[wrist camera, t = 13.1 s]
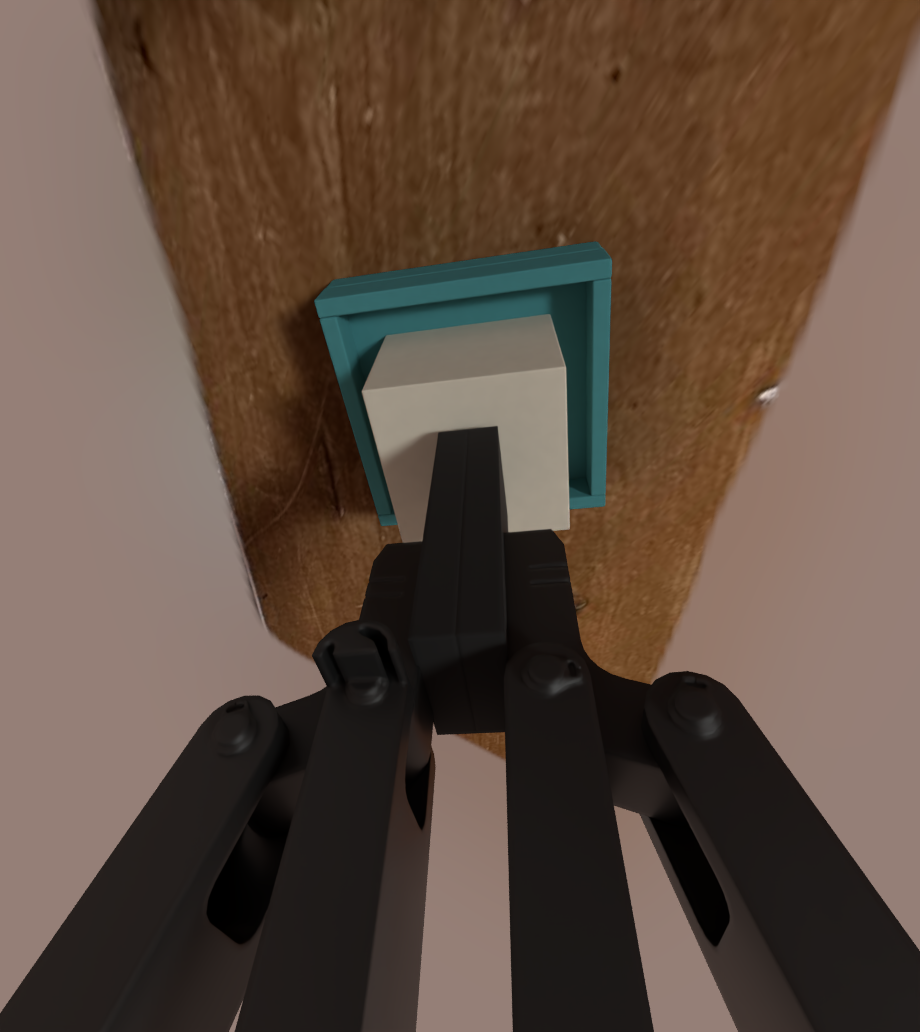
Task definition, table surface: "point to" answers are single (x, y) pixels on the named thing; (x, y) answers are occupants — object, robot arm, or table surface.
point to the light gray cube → (474, 414)
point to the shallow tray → (477, 299)
